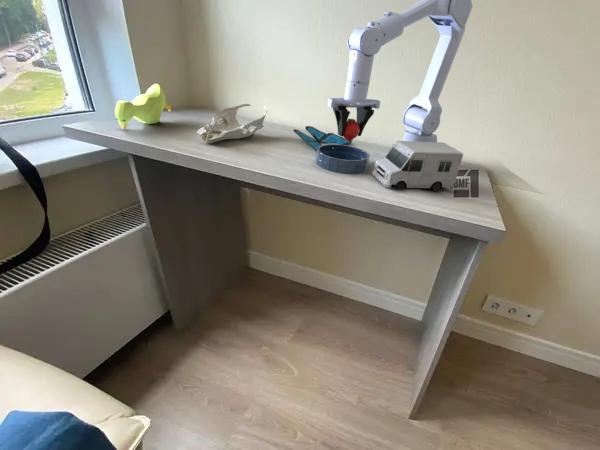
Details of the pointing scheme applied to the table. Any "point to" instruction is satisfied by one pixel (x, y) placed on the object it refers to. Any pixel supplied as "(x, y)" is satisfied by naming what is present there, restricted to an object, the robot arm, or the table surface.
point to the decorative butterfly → (321, 137)
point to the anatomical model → (229, 126)
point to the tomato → (351, 129)
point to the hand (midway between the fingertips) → (349, 135)
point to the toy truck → (419, 165)
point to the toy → (142, 107)
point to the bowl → (342, 158)
